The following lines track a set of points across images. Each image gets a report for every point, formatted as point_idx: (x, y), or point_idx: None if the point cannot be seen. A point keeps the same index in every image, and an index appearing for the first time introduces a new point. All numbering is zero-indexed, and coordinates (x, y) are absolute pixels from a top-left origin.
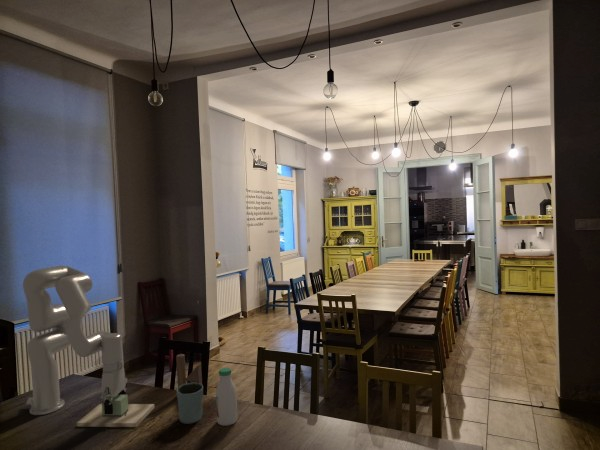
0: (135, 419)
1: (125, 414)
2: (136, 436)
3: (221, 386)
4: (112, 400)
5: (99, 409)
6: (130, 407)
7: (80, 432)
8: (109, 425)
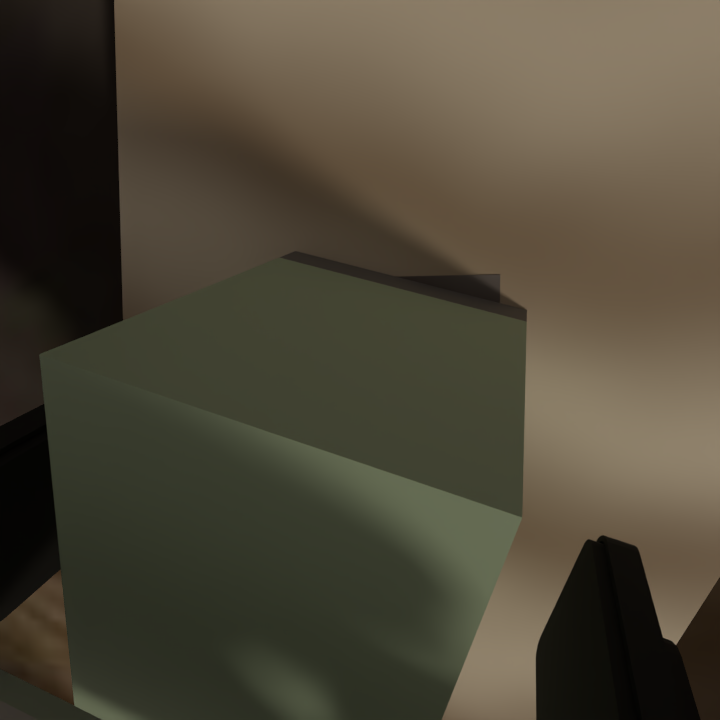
0: None
1: None
2: (39, 621)
3: None
4: (72, 643)
5: (667, 27)
6: (539, 616)
7: (23, 27)
8: None
